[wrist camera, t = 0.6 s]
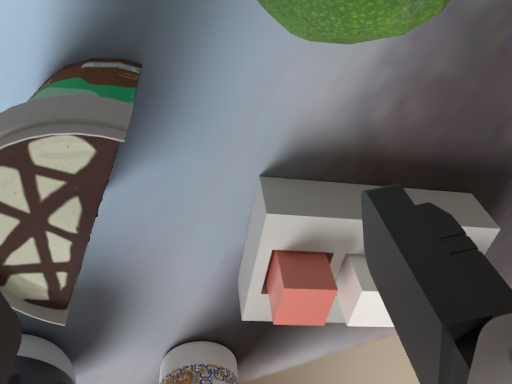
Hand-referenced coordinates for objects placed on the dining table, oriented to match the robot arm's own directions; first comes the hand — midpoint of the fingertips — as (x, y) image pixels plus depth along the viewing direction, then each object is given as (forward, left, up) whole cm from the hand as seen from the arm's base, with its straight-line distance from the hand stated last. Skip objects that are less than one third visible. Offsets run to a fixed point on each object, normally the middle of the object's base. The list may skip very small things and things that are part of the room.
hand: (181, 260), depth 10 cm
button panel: (+15, +13, -18) cm, 27 cm away
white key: (+15, +14, -16) cm, 25 cm away
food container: (+7, -7, -18) cm, 21 cm away
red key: (+15, +8, -16) cm, 23 cm away
